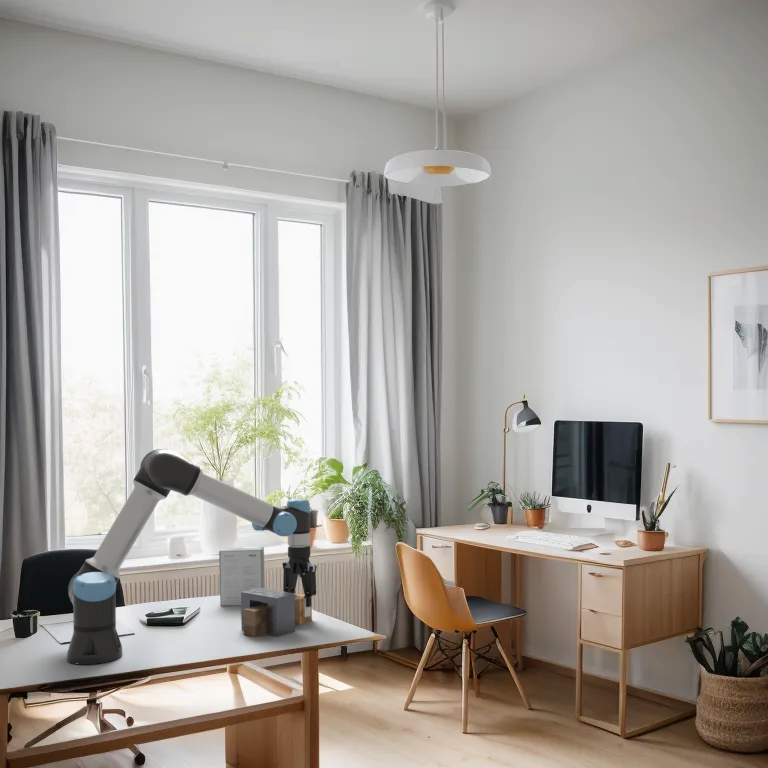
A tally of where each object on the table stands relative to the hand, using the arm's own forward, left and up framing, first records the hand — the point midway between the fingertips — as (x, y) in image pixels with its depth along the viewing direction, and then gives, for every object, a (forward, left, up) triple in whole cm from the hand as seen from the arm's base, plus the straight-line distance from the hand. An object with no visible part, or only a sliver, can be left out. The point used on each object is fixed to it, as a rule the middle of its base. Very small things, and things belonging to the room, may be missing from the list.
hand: (299, 615), depth 291 cm
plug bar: (-10, 0, -2) cm, 10 cm away
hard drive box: (+7, +35, -2) cm, 36 cm away
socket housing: (-15, 0, -2) cm, 15 cm away
